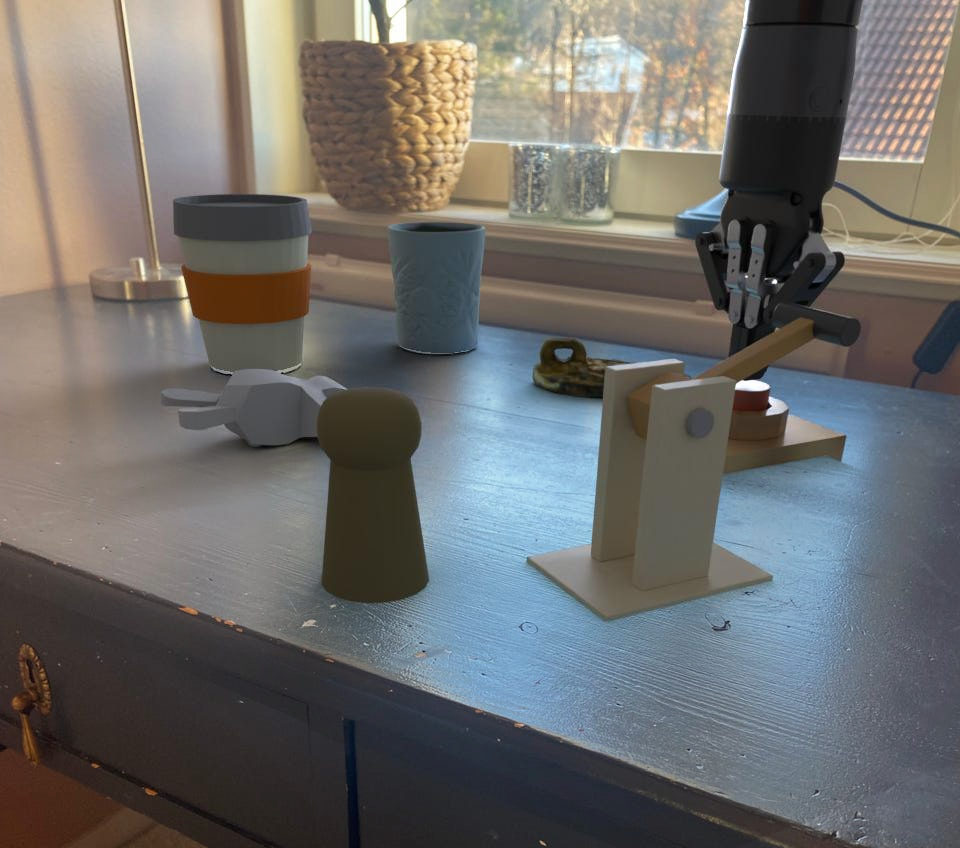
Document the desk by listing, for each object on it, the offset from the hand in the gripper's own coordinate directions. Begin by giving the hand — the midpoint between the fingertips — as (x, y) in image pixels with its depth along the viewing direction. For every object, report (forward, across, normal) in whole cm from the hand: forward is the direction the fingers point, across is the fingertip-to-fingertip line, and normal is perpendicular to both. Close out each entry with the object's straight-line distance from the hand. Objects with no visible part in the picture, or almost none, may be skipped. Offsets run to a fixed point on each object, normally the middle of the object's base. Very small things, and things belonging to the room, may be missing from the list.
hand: (745, 377), depth 72 cm
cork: (+6, -10, +34) cm, 36 cm away
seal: (+6, +20, -2) cm, 21 cm away
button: (+2, 0, 0) cm, 2 cm away
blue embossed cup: (+6, +43, +5) cm, 43 cm away
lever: (-5, -16, +15) cm, 22 cm away
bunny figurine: (+6, +18, +31) cm, 36 cm away
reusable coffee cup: (+6, +42, +25) cm, 49 cm away
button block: (+6, 0, 0) cm, 6 cm away
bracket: (+6, -16, +20) cm, 26 cm away
